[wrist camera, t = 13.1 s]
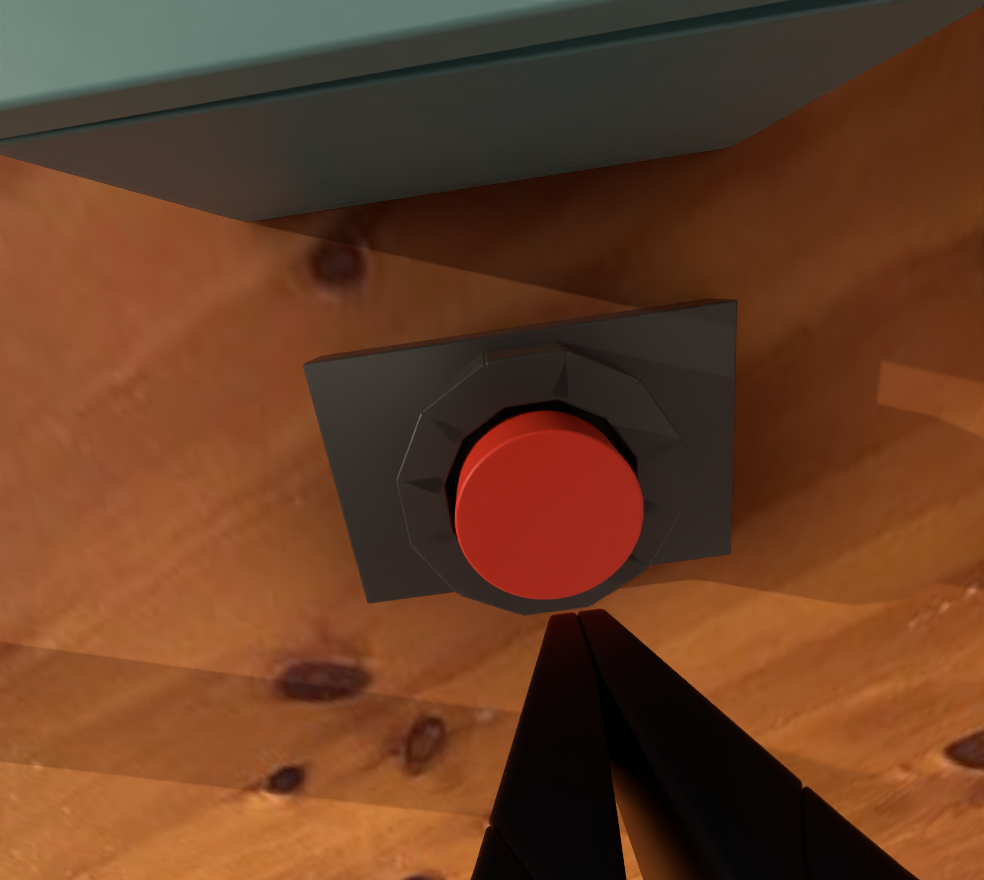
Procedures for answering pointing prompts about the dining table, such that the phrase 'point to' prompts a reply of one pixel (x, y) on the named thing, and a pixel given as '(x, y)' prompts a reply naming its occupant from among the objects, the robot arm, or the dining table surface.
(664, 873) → the robot arm
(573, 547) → the button
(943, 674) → the dining table surface
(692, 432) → the switch box
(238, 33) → the lid
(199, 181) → the open box
